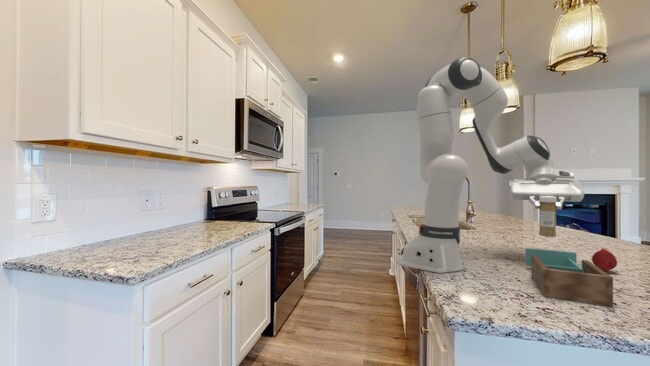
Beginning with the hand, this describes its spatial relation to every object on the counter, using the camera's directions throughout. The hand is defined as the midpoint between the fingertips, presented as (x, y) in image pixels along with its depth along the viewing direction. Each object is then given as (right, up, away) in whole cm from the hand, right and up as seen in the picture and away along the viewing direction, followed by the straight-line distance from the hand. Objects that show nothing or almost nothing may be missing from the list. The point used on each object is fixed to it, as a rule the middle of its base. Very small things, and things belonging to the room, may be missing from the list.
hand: (548, 208), depth 92 cm
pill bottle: (0, -10, +1) cm, 10 cm away
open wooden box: (-9, -21, -17) cm, 29 cm away
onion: (+17, -21, -2) cm, 27 cm away
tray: (-4, -20, -7) cm, 21 cm away
